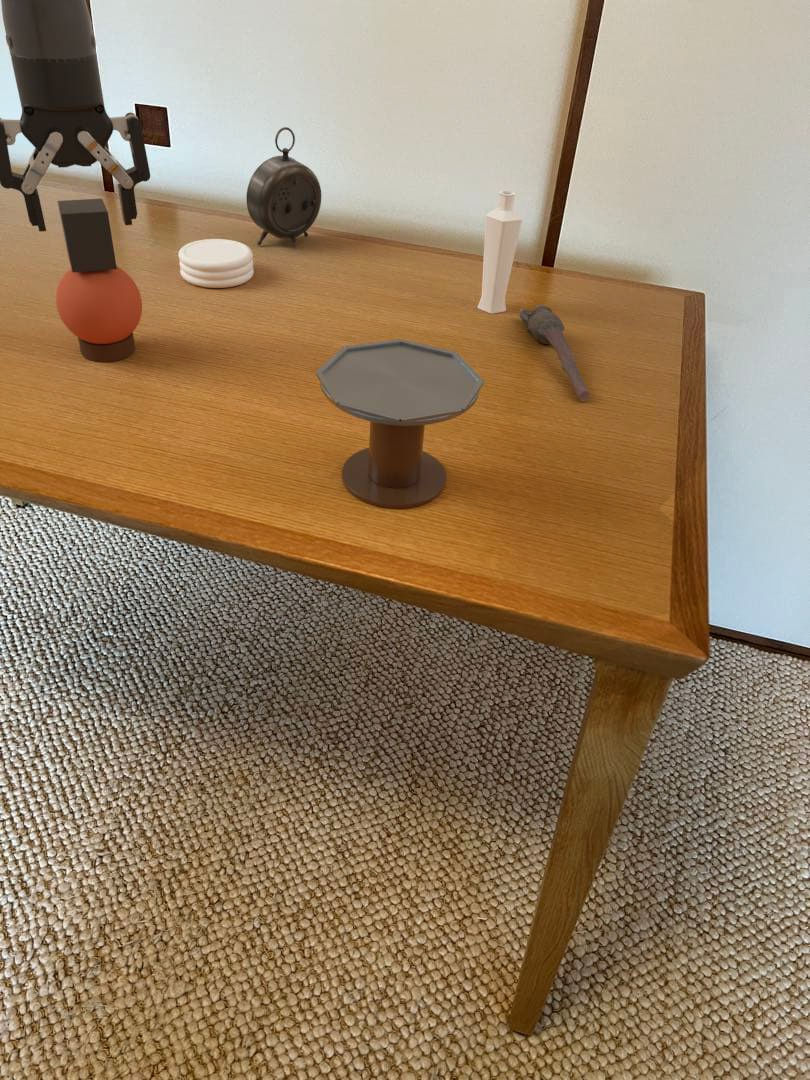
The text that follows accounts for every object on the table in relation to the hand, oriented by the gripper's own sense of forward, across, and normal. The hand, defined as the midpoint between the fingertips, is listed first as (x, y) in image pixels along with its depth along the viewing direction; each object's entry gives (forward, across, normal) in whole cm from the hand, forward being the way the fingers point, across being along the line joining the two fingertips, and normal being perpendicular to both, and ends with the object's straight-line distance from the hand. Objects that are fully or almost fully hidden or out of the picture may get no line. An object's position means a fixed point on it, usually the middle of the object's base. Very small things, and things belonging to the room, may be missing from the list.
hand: (85, 226), depth 85 cm
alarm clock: (+14, -30, -29) cm, 44 cm away
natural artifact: (+14, -50, +16) cm, 54 cm away
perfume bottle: (+14, -50, +1) cm, 52 cm away
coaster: (+14, -17, -19) cm, 29 cm away
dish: (+14, -22, +34) cm, 43 cm away
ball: (+14, 0, 0) cm, 14 cm away
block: (+4, 0, 0) cm, 4 cm away
